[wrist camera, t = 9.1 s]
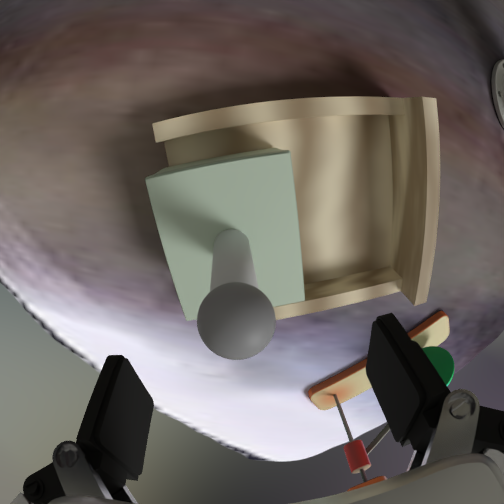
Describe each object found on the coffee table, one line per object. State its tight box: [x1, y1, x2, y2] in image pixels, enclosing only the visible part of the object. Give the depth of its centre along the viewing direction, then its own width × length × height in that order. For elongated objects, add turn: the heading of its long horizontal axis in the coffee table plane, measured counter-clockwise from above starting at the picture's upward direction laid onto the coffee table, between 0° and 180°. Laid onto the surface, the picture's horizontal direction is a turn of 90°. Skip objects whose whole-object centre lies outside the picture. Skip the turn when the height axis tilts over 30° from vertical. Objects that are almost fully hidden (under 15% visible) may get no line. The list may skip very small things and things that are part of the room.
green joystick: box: [145, 148, 305, 360], centre depth 19 cm, size 10×12×17 cm
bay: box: [152, 96, 440, 320], centre depth 24 cm, size 23×20×7 cm
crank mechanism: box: [308, 311, 454, 491], centre depth 30 cm, size 25×7×19 cm, turn 121°
